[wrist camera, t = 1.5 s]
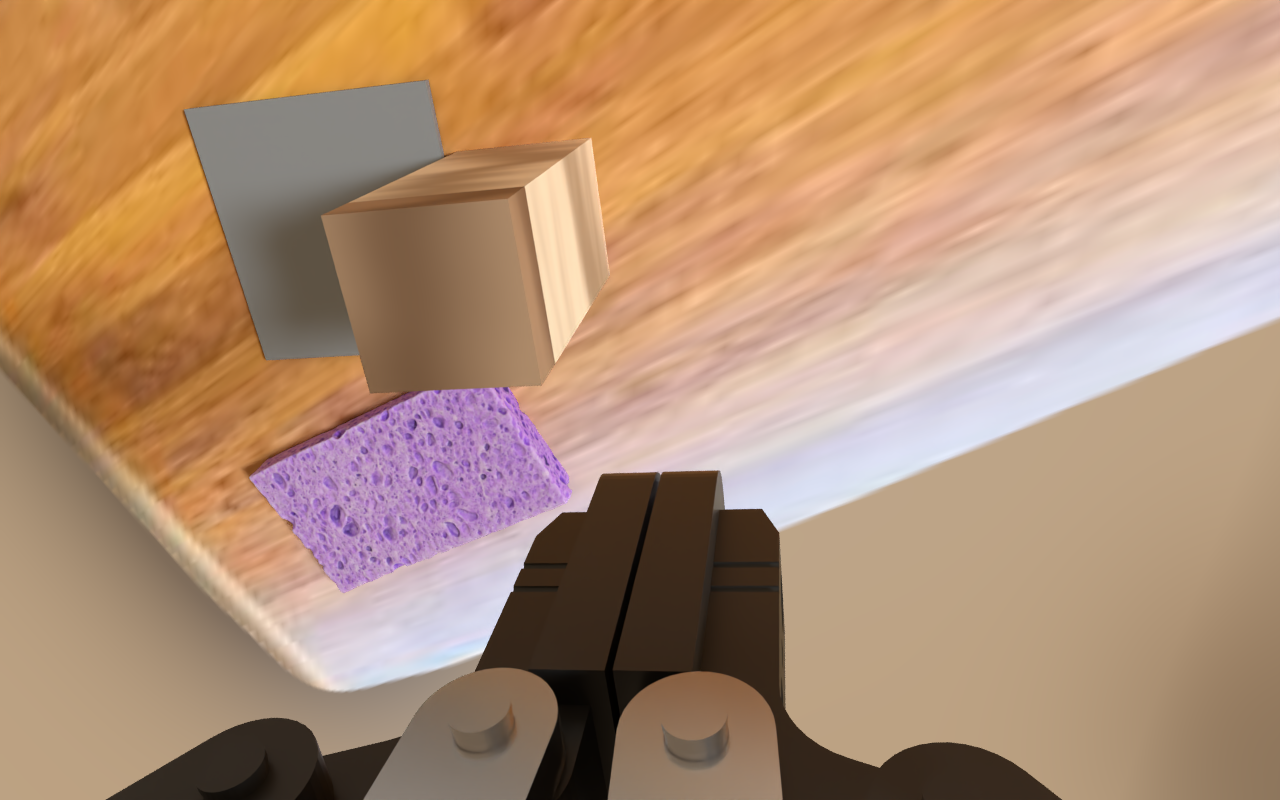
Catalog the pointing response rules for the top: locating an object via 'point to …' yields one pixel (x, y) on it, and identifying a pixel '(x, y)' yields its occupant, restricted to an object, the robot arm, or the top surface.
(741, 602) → the robot arm
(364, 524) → the sponges
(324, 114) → the mat
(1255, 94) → the top surface
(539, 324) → the birch block
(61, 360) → the top surface
